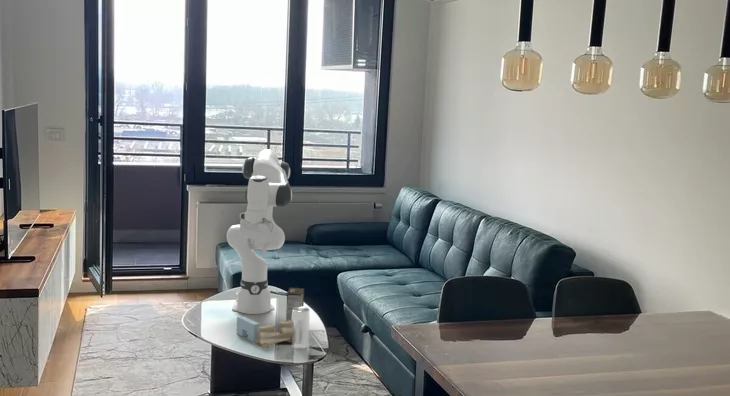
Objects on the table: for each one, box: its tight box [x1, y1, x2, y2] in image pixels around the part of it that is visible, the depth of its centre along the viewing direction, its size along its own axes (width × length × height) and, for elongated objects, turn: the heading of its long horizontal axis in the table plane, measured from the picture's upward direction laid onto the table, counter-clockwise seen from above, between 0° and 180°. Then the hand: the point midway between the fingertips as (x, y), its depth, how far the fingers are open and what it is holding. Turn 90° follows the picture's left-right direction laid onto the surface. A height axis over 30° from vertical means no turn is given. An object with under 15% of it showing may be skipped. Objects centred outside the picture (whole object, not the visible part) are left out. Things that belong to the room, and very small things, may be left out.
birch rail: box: [254, 320, 293, 349], centre depth 272 cm, size 6×16×7 cm, turn 133°
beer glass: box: [291, 306, 311, 350], centre depth 267 cm, size 7×7×15 cm
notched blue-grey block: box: [236, 315, 260, 343], centre depth 275 cm, size 12×2×7 cm, turn 43°
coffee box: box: [285, 287, 305, 321], centre depth 289 cm, size 9×6×16 cm
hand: (256, 250), depth 277 cm, fingers open, 8 cm apart
